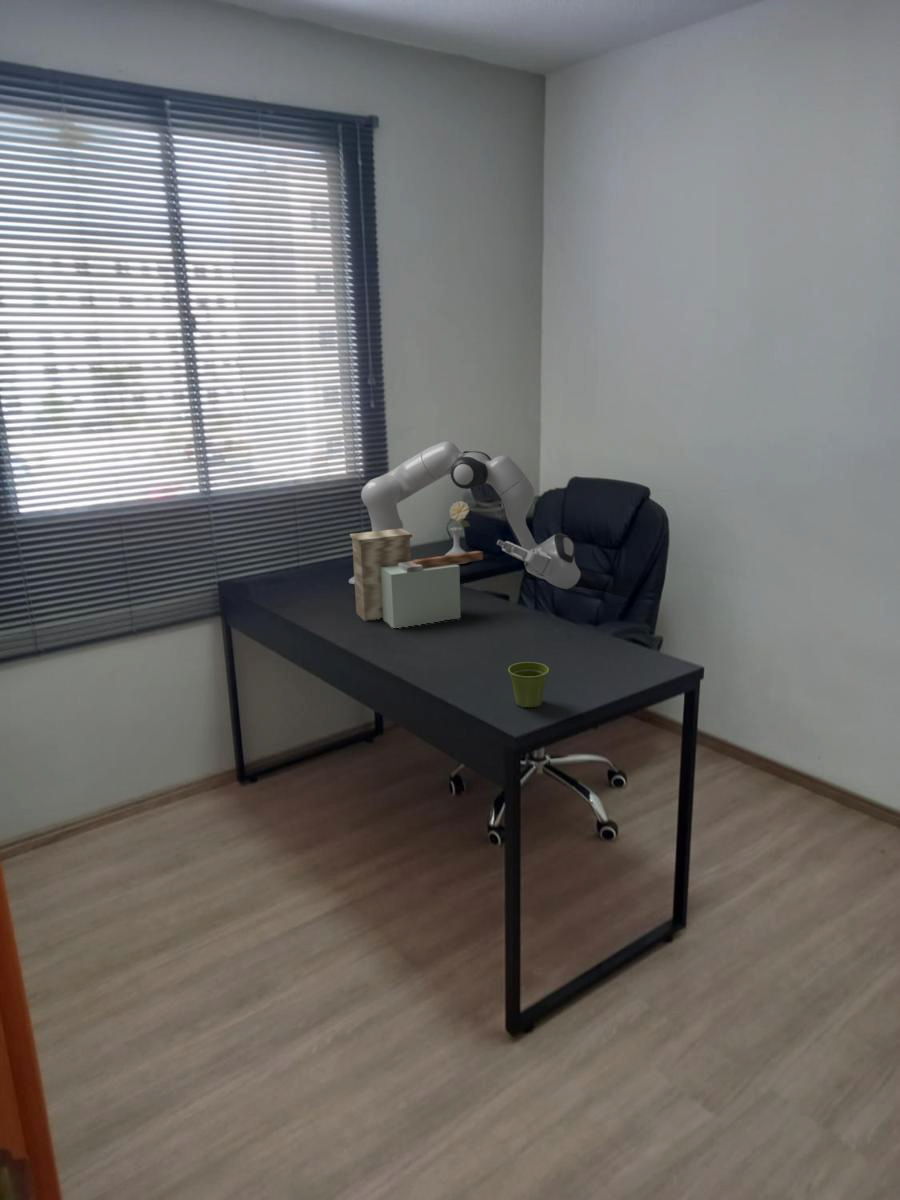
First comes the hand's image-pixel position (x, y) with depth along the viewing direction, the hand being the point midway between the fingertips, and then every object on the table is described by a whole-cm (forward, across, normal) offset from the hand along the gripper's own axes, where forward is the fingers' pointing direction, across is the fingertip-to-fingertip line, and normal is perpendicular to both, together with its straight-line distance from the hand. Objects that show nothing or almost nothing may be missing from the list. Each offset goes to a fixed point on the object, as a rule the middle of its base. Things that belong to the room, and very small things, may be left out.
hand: (505, 545), depth 265 cm
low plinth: (+15, 0, +32) cm, 36 cm away
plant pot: (+15, +72, +32) cm, 80 cm away
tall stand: (+22, -11, +37) cm, 44 cm away
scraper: (+17, +1, +14) cm, 22 cm away
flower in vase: (-19, -60, +14) cm, 65 cm away
